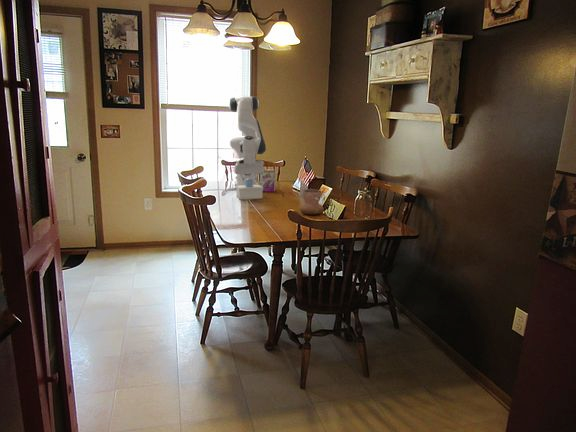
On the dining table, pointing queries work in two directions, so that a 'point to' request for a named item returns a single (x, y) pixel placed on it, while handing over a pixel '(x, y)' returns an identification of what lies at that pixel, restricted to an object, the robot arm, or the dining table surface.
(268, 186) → the candy bar box
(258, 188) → the lid
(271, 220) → the dining table surface
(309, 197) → the ceramic jug
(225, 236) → the dining table surface
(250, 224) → the dining table surface
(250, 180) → the blue tapered cylinder
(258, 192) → the carton
